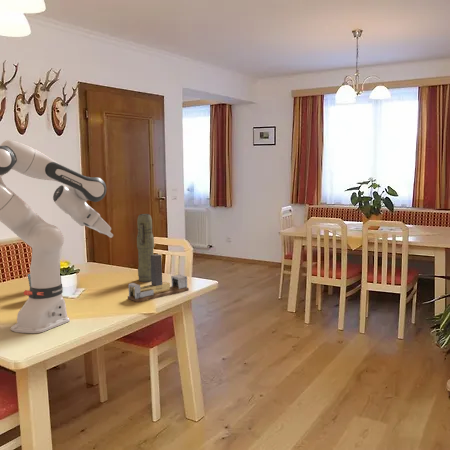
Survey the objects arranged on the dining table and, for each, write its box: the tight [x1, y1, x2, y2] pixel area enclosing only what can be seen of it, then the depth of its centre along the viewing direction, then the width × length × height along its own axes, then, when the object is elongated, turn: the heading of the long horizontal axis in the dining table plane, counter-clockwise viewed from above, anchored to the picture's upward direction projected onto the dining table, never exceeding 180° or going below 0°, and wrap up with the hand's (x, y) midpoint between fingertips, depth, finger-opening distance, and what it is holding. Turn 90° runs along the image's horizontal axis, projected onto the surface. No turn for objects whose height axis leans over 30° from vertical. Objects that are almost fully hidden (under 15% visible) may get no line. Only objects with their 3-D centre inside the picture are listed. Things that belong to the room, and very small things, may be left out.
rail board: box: [127, 285, 190, 303], centre depth 227 cm, size 29×8×1 cm, turn 132°
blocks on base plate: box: [133, 253, 171, 297], centre depth 223 cm, size 18×4×18 cm, turn 132°
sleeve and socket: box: [128, 273, 188, 299], centre depth 226 cm, size 29×6×7 cm, turn 132°
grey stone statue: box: [136, 213, 155, 283], centre depth 253 cm, size 9×12×35 cm
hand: (106, 234), depth 215 cm, fingers open, 8 cm apart
